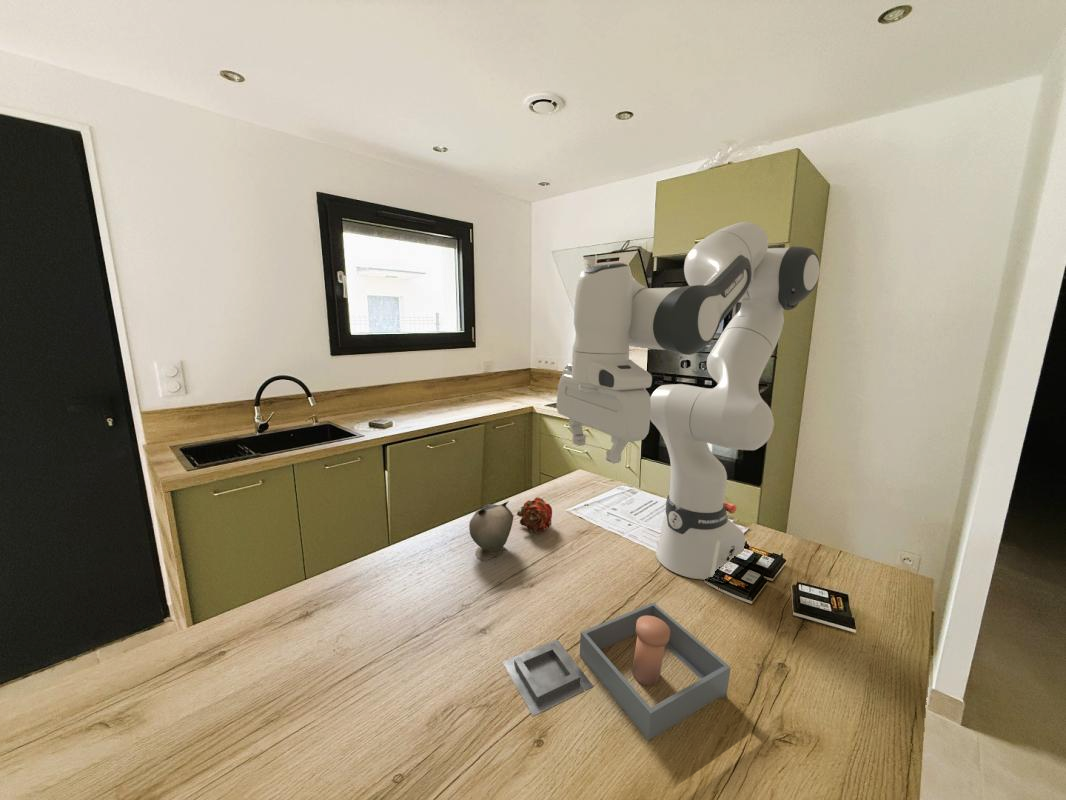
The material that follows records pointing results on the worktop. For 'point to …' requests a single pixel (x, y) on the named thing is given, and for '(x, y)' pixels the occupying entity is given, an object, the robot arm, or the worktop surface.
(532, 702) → the socket plate
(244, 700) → the worktop surface
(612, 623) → the slate tray
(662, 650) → the butternut squash
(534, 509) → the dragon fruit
